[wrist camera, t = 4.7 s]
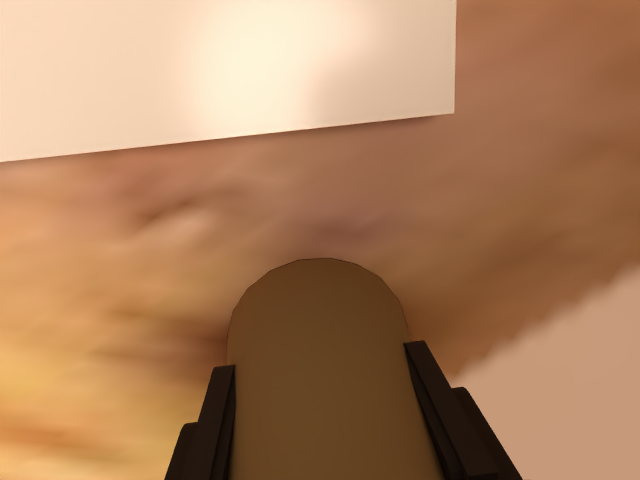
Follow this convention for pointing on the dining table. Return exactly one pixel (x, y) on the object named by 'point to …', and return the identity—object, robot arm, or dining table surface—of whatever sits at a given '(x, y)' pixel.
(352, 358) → the cork
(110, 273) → the dining table surface
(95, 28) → the ceramic tile
